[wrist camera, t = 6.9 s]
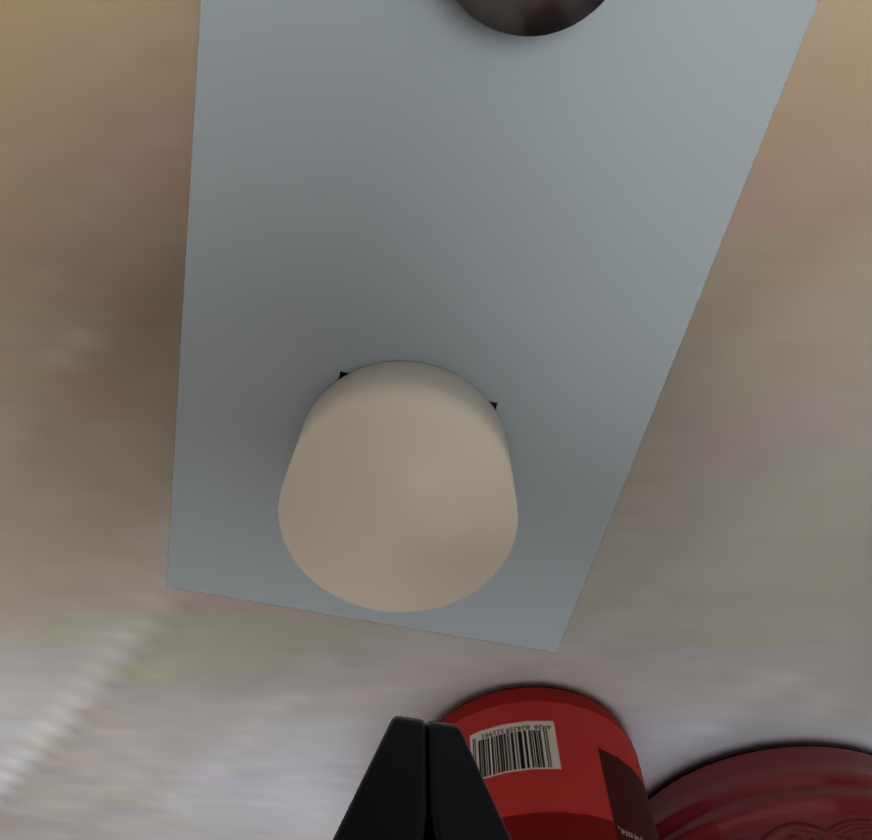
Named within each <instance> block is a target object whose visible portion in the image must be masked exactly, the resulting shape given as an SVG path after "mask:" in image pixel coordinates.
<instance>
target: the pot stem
mask: <svg viewBox="0 0 872 840" xmlns="http://www.w3.org/2000/svg"><path fill="white" fill-rule="evenodd" d="M454 1H455V3H456V4H457V5H458V6H459V7H460V9H461V10H463V11H464V12H465V13H466V14H467V15H468V16H469V17H470V18H472V19H473V20H475V21H476V22H478V23H479V24H481V25H483V26H485V27H487V28H489V29H491V30H494V31H497V32H500V33H505V34H510V35H516V36H529V37H534V36H542V35H548V34H552V33H555V32H559V31H561V30H564V29H566V28H568V27H571V26H573V25H574V24H576V23H578V22H579V21H581V20H583V19H584V18H586V17H587V16H588V15H589V14H591V13H592V12H593V11H595V10H596V9H597V8H598V7H599V6H600V5H601V4H602V3H603V2H604V1H605V0H454Z"/></svg>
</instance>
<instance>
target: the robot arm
mask: <svg viewBox="0 0 872 840" xmlns="http://www.w3.org/2000/svg"><path fill="white" fill-rule="evenodd" d="M333 840H511V838H510V835H509V833H508V831H507V829H506V827H505V825H504V822H503V820H502V818H501V816H500V814H499V811H498V809H497V807H496V805H495V803H494V801H493V798H492V796H491V794H490V792H489V790H488V787H487V785H486V783H485V781H484V779H483V777H482V774H481V772H480V770H479V768H478V766H477V764H476V761H475V759H474V757H473V755H472V753H471V750H470V748H469V746H468V744H467V742H466V740H465V737H464V735H463V733H462V731H461V730H460V728H459V727H458V726H456V725H454V724H448V723H441V722H435V721H430V722H428V723H427V724H426V725H425V722H424V721H423V720H421V719H416V718H409V717H403V716H396V717H394V718H393V719H392V721H391V722H390V724H389V726H388V728H387V730H386V732H385V734H384V736H383V738H382V741H381V743H380V745H379V747H378V749H377V751H376V753H375V755H374V757H373V759H372V761H371V763H370V765H369V767H368V769H367V771H366V773H365V775H364V777H363V779H362V781H361V783H360V785H359V787H358V789H357V791H356V793H355V796H354V798H353V800H352V802H351V804H350V806H349V808H348V810H347V812H346V814H345V816H344V818H343V820H342V822H341V824H340V826H339V828H338V830H337V832H336V834H335V836H334V838H333Z"/></svg>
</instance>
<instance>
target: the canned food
mask: <svg viewBox="0 0 872 840" xmlns="http://www.w3.org/2000/svg"><path fill="white" fill-rule="evenodd" d="M441 723H448V724H454V725H456V726H458V727H459V728H460V730H461V731H462V733H463V735H464V737H465V740H466V742H467V744H468V746H469V748H470V750H471V753H472V755H473V757H474V759H475V761H476V764H477V766H478V768H479V770H480V772H481V774H482V777H483V779H484V781H485V783H486V785H487V787H488V790H489V792H490V794H491V796H492V798H493V801H494V803H495V805H496V807H497V809H498V811H499V814H500V816H501V818H502V820H503V822H504V825H505V827H506V829H507V831H508V833H509V835H510V838H511V840H659V836H658V833H657V829H656V825H655V821H654V818H653V814H652V810H651V807H650V803H649V799H648V795H647V792H646V788H645V784H644V780H643V777H642V773H641V769H640V765H639V762H638V758H637V755H636V752H635V750H634V747H633V745H632V742H631V741H630V739H629V738H628V736H627V735H626V733H625V732H624V730H623V729H622V727H621V726H620V724H619V723H618V722H617V721H616V719H615V718H614V717H613V716H612V714H611V713H610V712H608V711H607V710H606V709H604V708H603V707H602V706H601V705H599V704H598V703H596V702H594V701H592V700H590V699H588V698H586V697H584V696H582V695H578V694H575V693H572V692H568V691H565V690H559V689H551V688H544V687H529V688H516V689H509V690H502V691H498V692H495V693H491V694H488V695H484V696H481V697H479V698H477V699H474V700H472V701H470V702H468V703H466V704H463V705H462V706H460V707H459V708H457V709H456V710H454V711H453V712H451V713H450V714H448V715H447V716H446V717H445V718H444V719H443V720H442V721H441Z"/></svg>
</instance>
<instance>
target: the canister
mask: <svg viewBox="0 0 872 840" xmlns="http://www.w3.org/2000/svg"><path fill="white" fill-rule="evenodd" d="M649 803H650V807H651V810H652V814H653V818H654V821H655V825H656V829H657V833H658V836H659V840H872V755H870V754H866V753H862V752H858V751H852V750H847V749H839V748H831V747H806V746H802V747H784V748H774V749H768V750H761V751H756V752H751V753H746V754H742V755H738V756H734V757H731V758H727V759H724V760H721V761H718V762H716V763H713V764H710V765H708V766H705V767H703V768H700V769H698V770H696V771H694V772H691V773H689V774H687V775H685V776H683V777H682V778H680V779H678V780H676V781H675V782H673V783H672V784H670V785H668V786H667V787H665V788H664V789H663V790H661V791H660V792H658V793H657V794H656V795H655V796H653V797H652V798H651V799H650V800H649Z"/></svg>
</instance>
